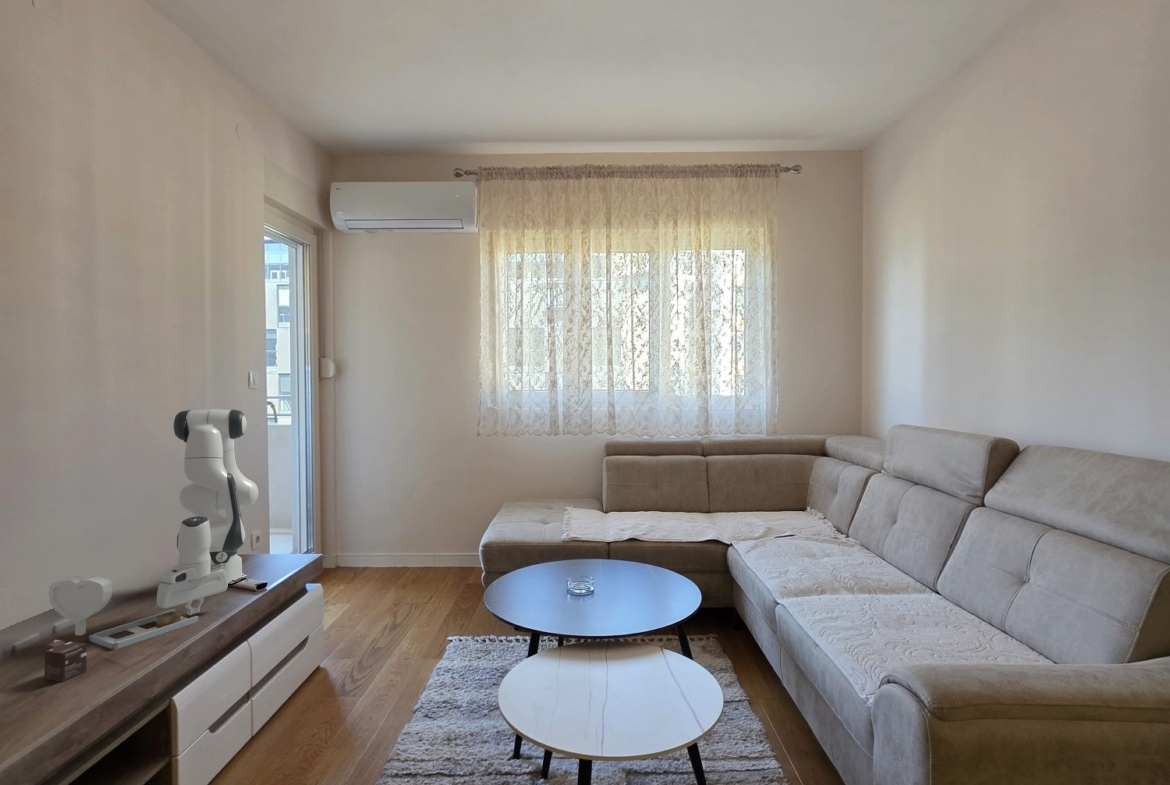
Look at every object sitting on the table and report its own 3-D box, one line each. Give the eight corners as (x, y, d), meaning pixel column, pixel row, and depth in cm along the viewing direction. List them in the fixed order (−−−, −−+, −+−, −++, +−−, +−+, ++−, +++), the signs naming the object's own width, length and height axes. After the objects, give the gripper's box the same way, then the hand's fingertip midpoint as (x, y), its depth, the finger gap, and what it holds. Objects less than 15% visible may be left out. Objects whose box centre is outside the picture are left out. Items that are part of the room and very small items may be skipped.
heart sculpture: (45, 642, 172) (46, 580, 172) (60, 635, 177) (60, 575, 177) (101, 642, 173) (102, 580, 173) (114, 635, 178) (114, 575, 178)
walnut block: (165, 630, 179) (165, 618, 179) (156, 627, 181) (156, 615, 181) (180, 624, 183) (180, 613, 183) (171, 622, 185) (172, 611, 185)
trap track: (113, 655, 165) (114, 644, 165) (88, 645, 171) (88, 635, 171) (198, 626, 186) (198, 616, 186) (173, 618, 192) (173, 609, 192)
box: (62, 682, 150) (62, 653, 150) (43, 679, 151) (43, 650, 151) (87, 671, 156) (87, 643, 156) (68, 668, 157) (69, 641, 157)
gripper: (220, 560, 199) (219, 601, 199) (153, 576, 181) (153, 622, 181) (232, 562, 196) (231, 604, 196) (166, 579, 178) (165, 626, 178)
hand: (193, 613), depth 188 cm, fingers closed
